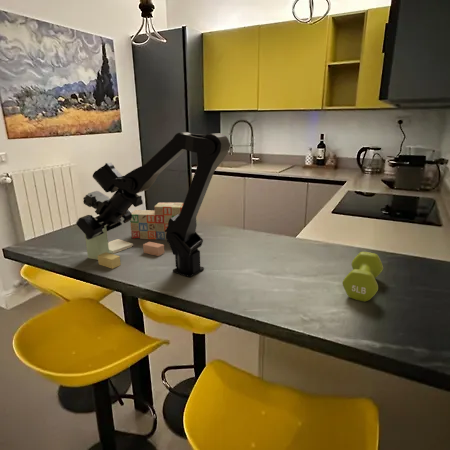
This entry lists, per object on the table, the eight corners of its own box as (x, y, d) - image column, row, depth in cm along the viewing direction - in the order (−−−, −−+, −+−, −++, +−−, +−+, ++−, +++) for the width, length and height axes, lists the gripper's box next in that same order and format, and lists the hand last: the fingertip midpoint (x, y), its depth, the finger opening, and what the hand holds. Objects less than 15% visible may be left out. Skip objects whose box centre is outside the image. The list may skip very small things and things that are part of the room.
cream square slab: (133, 247, 114) (133, 243, 113) (113, 255, 108) (113, 250, 107) (118, 243, 118) (117, 239, 118) (98, 249, 112) (97, 245, 111)
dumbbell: (351, 272, 95) (354, 248, 92) (382, 278, 91) (386, 253, 89) (339, 298, 81) (342, 270, 79) (374, 306, 77) (379, 278, 75)
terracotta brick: (164, 253, 108) (163, 244, 107) (158, 256, 106) (158, 247, 105) (149, 250, 111) (149, 241, 110) (143, 253, 108) (143, 244, 107)
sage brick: (109, 254, 107) (106, 224, 104) (99, 260, 103) (96, 228, 100) (97, 252, 108) (94, 223, 105) (88, 258, 104) (83, 227, 101)
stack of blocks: (131, 239, 121) (128, 205, 117) (137, 233, 127) (134, 201, 123) (190, 240, 119) (189, 207, 115) (193, 234, 125) (192, 202, 121)
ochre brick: (120, 265, 99) (119, 256, 98) (112, 269, 97) (111, 259, 96) (106, 261, 102) (105, 252, 101) (98, 264, 100) (97, 255, 99)
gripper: (120, 178, 105) (96, 209, 112) (76, 189, 89) (51, 225, 96) (144, 204, 105) (118, 234, 112) (104, 221, 88) (77, 254, 95)
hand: (92, 235), depth 104 cm, fingers closed on sage brick, 4 cm apart
